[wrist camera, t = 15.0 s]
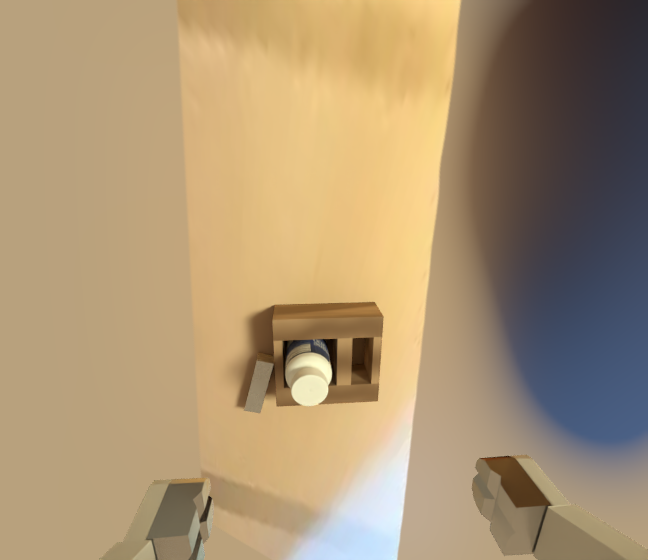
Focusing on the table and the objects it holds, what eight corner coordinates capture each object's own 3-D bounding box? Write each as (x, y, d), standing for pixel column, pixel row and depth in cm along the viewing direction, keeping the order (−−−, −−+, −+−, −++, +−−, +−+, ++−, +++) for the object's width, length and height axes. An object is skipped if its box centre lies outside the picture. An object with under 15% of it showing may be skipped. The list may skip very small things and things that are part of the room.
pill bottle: (333, 351, 44) (343, 399, 35) (297, 367, 44) (298, 419, 35) (316, 320, 42) (322, 361, 33) (279, 336, 42) (275, 382, 33)
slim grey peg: (258, 351, 43) (256, 360, 41) (274, 354, 44) (273, 363, 41) (246, 399, 45) (244, 410, 43) (261, 402, 46) (260, 413, 44)
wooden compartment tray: (274, 304, 41) (272, 319, 37) (374, 302, 42) (383, 316, 38) (278, 384, 45) (276, 406, 40) (370, 380, 46) (377, 401, 41)
